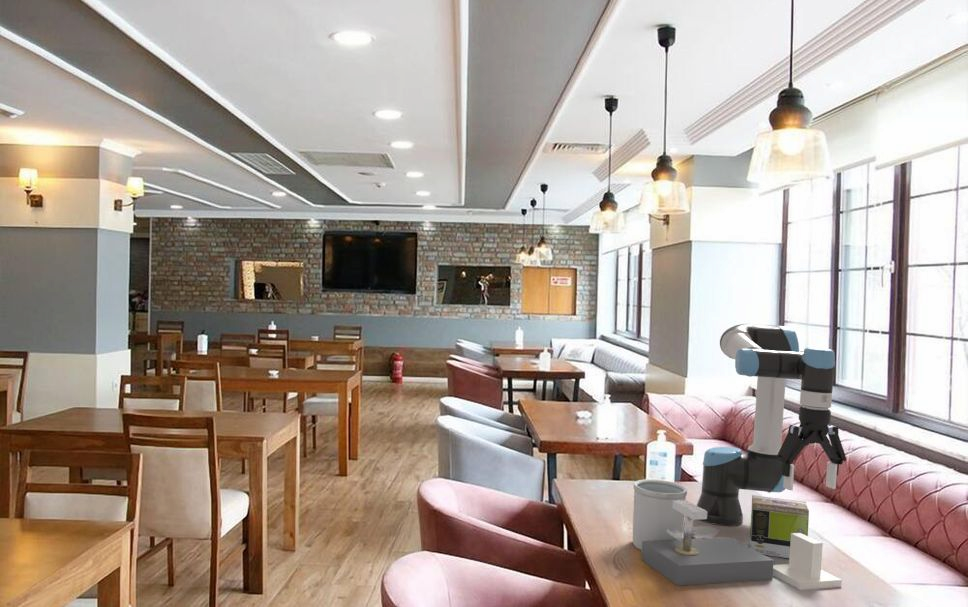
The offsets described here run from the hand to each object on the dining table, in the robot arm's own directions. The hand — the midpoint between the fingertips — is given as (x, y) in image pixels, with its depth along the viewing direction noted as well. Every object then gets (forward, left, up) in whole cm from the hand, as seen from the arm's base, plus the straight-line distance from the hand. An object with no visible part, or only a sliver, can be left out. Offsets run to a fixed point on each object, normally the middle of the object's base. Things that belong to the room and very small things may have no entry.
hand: (809, 488), depth 192 cm
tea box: (-7, -19, -24) cm, 31 cm away
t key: (+29, -11, -18) cm, 36 cm away
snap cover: (0, 0, -24) cm, 24 cm away
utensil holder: (+27, -28, -24) cm, 46 cm away
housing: (+23, -10, -24) cm, 34 cm away
